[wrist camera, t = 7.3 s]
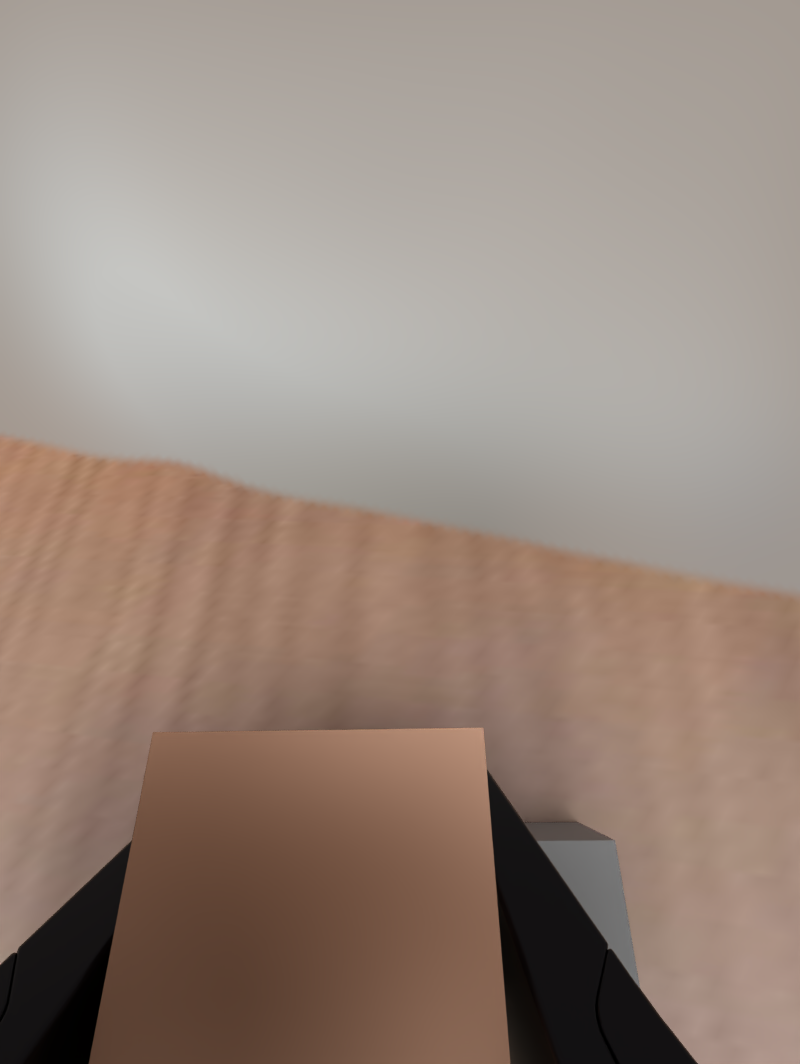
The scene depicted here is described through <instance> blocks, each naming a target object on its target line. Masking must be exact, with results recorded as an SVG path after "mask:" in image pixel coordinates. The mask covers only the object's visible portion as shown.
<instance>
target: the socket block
mask: <svg viewBox="0 0 800 1064" xmlns="http://www.w3.org/2000/svg"><path fill="white" fill-rule="evenodd" d="M525 825H526V826H527V828H528V829H529V831H530V832H531V833H532V835H533V836H534V838H535V839H536V841H537V842H538V843H539V845H540V846H541V848H542V849H543V851H544V852H545V854H546V855H547V856H548V858H549V859H550V861H551V862H552V864H553V865H554V866H555V868H556V869H557V871H558V872H559V874H560V875H561V877H562V878H563V879H564V881H565V882H566V884H567V885H568V887H569V888H570V889H571V891H572V892H573V894H574V895H575V897H576V898H577V900H578V901H579V902H580V904H581V905H582V907H583V908H584V910H585V911H586V912H587V914H588V915H589V917H590V918H591V920H592V921H593V923H594V924H595V925H596V927H597V928H598V930H599V931H600V933H601V934H602V935H603V937H604V938H605V940H606V941H607V943H608V949H612V950H613V951H614V952H615V954H616V955H617V957H618V958H619V960H620V961H621V962H622V964H623V965H624V967H625V968H626V970H627V971H628V973H629V974H630V975H631V977H632V978H633V980H634V981H635V982H636V984H637V985H638V986H639V980H638V974H637V968H636V962H635V956H634V950H633V944H632V938H631V932H630V926H629V921H628V915H627V909H626V903H625V897H624V891H623V885H622V879H621V873H620V867H619V861H618V855H617V850H616V844H615V840H613V839H611V838H609V837H607V836H605V835H603V834H601V833H599V832H597V831H595V830H593V829H591V828H589V827H587V826H585V825H583V824H581V823H579V822H536V823H525ZM639 988H640V986H639Z"/></svg>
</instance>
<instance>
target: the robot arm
mask: <svg viewBox="0 0 800 1064" xmlns="http://www.w3.org/2000/svg"><path fill="white" fill-rule="evenodd" d="M487 779H488V792H489V804H490V816H491V829H492V841H493V854H494V866H495V878H496V891H497V903H498V915H499V928H500V940H501V953H502V965H503V977H504V990H505V1002H506V1015H507V1027H508V1039H509V1052H510V1064H698V1063H697V1062H696V1061H695V1060H694V1058H693V1057H692V1056H691V1055H690V1053H689V1052H688V1051H687V1050H686V1048H685V1047H684V1046H683V1044H682V1043H681V1042H680V1041H679V1039H678V1038H677V1037H676V1036H675V1034H674V1033H673V1032H672V1031H671V1029H670V1028H669V1027H668V1026H667V1024H666V1023H665V1022H664V1021H663V1019H662V1018H661V1017H660V1015H659V1014H658V1013H657V1011H656V1010H655V1008H654V1007H653V1006H652V1004H651V1003H650V1002H649V1000H648V999H647V997H646V996H645V995H644V993H643V992H642V991H641V989H640V988H639V986H638V985H637V984H636V982H635V981H634V980H633V978H632V977H631V975H630V974H629V973H628V971H627V970H626V968H625V967H624V965H623V964H622V962H621V961H620V960H619V958H618V957H617V955H616V954H615V952H614V951H613V950H612V949H608V943H607V941H606V940H605V938H604V937H603V935H602V934H601V933H600V931H599V930H598V928H597V927H596V925H595V924H594V923H593V921H592V920H591V918H590V917H589V915H588V914H587V912H586V911H585V910H584V908H583V907H582V905H581V904H580V902H579V901H578V900H577V898H576V897H575V895H574V894H573V892H572V891H571V889H570V888H569V887H568V885H567V884H566V882H565V881H564V879H563V878H562V877H561V875H560V874H559V872H558V871H557V869H556V868H555V866H554V865H553V864H552V862H551V861H550V859H549V858H548V856H547V855H546V854H545V852H544V851H543V849H542V848H541V846H540V845H539V843H538V842H537V841H536V839H535V838H534V836H533V835H532V833H531V832H530V831H529V829H528V828H527V826H526V825H525V823H524V822H523V820H522V819H521V818H520V816H519V815H518V813H517V812H516V810H515V809H514V808H513V806H512V805H511V803H510V802H509V800H508V799H507V797H506V796H505V795H504V793H503V792H502V790H501V789H500V787H499V786H498V784H497V783H496V782H495V780H494V779H493V777H492V776H491V774H490V773H489V772H488V770H487ZM131 843H132V841H131V842H130V843H129V844H128V845H126V846H125V847H124V848H123V849H122V850H121V851H120V852H119V853H118V854H117V855H116V856H115V857H114V858H113V859H112V860H111V861H110V862H109V863H108V864H106V865H105V866H104V867H103V868H102V869H101V870H100V871H99V872H98V873H97V874H96V875H95V876H94V877H93V878H92V879H91V880H90V881H89V882H87V883H86V884H85V885H84V886H83V887H82V888H81V889H80V890H79V891H78V892H77V893H76V894H75V895H74V896H73V897H72V898H71V899H70V900H68V901H67V902H66V903H65V904H64V905H63V906H62V907H61V908H60V909H59V910H58V911H57V912H56V913H55V914H54V915H53V916H52V917H51V918H49V919H48V920H47V921H46V922H45V923H44V924H43V925H42V926H41V927H40V928H39V929H38V930H37V931H36V932H35V933H34V934H33V935H32V936H30V937H29V938H28V939H27V940H26V941H25V942H24V943H23V944H22V945H21V946H20V947H19V949H18V951H17V953H13V954H11V955H10V956H9V957H8V958H7V959H6V960H5V961H4V962H3V963H2V964H1V965H0V1064H89V1060H90V1054H91V1049H92V1044H93V1039H94V1034H95V1029H96V1023H97V1018H98V1013H99V1008H100V1003H101V998H102V993H103V987H104V982H105V977H106V972H107V967H108V962H109V956H110V951H111V946H112V941H113V936H114V931H115V926H116V920H117V915H118V910H119V905H120V900H121V895H122V889H123V884H124V879H125V874H126V869H127V864H128V858H129V853H130V848H131Z"/></svg>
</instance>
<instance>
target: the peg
mask: <svg viewBox="0 0 800 1064" xmlns="http://www.w3.org/2000/svg"><path fill="white" fill-rule="evenodd" d="M89 1064H510V1052H509V1039H508V1027H507V1015H506V1002H505V990H504V977H503V965H502V953H501V940H500V928H499V915H498V903H497V891H496V878H495V866H494V854H493V841H492V829H491V816H490V804H489V792H488V779H487V767H486V754H485V742H484V730H483V728H429V729H359V730H288V731H217V732H153V735H152V740H151V745H150V750H149V755H148V761H147V766H146V771H145V776H144V781H143V786H142V791H141V797H140V802H139V807H138V812H137V817H136V822H135V828H134V833H133V838H132V843H131V848H130V853H129V858H128V864H127V869H126V874H125V879H124V884H123V889H122V895H121V900H120V905H119V910H118V915H117V920H116V926H115V931H114V936H113V941H112V946H111V951H110V956H109V962H108V967H107V972H106V977H105V982H104V987H103V993H102V998H101V1003H100V1008H99V1013H98V1018H97V1023H96V1029H95V1034H94V1039H93V1044H92V1049H91V1054H90V1060H89Z"/></svg>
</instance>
